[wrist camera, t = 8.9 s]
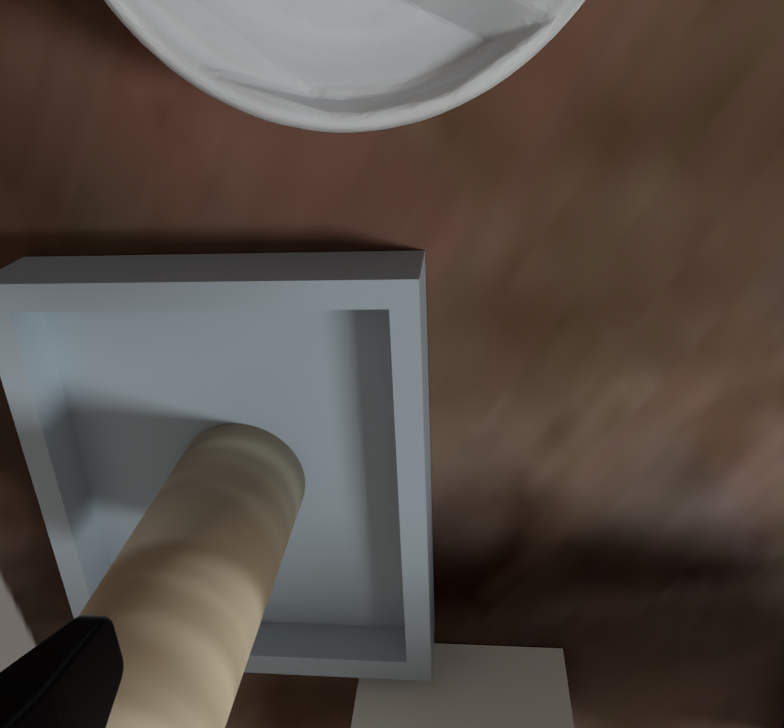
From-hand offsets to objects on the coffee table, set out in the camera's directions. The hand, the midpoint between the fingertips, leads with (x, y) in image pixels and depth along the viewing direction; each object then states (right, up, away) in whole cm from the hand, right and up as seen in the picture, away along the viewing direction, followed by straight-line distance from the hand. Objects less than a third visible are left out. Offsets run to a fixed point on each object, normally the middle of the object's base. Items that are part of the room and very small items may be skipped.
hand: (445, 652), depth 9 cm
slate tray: (-5, +1, +15) cm, 16 cm away
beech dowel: (-5, 0, +14) cm, 15 cm away
